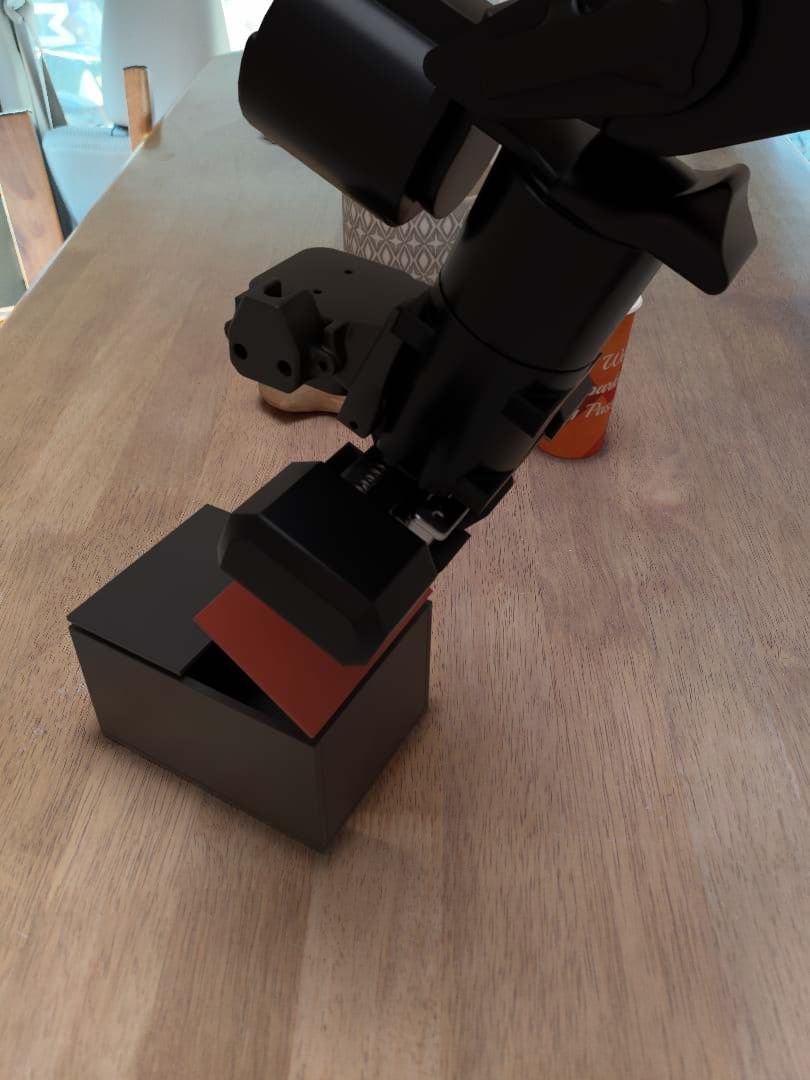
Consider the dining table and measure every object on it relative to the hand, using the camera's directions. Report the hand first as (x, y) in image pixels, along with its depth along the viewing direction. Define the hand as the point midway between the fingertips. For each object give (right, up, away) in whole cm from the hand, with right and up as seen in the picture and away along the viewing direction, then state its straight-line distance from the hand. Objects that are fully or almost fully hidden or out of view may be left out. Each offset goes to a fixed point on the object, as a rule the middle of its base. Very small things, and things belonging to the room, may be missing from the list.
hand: (360, 575), depth 40 cm
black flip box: (-6, -9, +11) cm, 16 cm away
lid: (-2, -2, +3) cm, 4 cm away
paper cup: (+16, +10, +35) cm, 39 cm away
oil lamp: (-6, +13, +39) cm, 41 cm away
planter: (+4, +28, +56) cm, 63 cm away
